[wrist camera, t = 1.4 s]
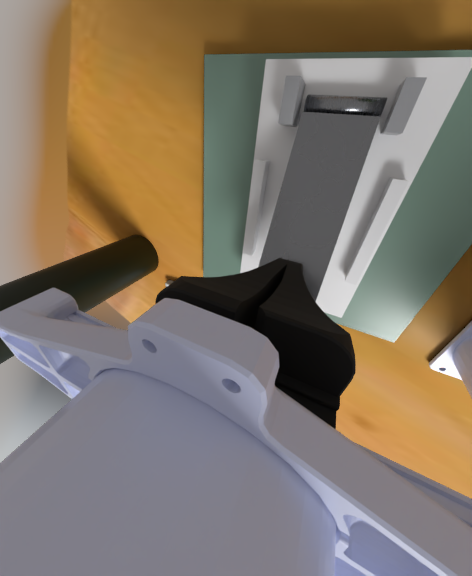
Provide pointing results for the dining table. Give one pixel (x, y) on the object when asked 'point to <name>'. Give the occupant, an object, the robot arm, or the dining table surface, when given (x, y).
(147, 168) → the dining table surface
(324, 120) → the strap
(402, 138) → the green base plate
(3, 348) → the wine bottle
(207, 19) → the dining table surface
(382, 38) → the dining table surface
